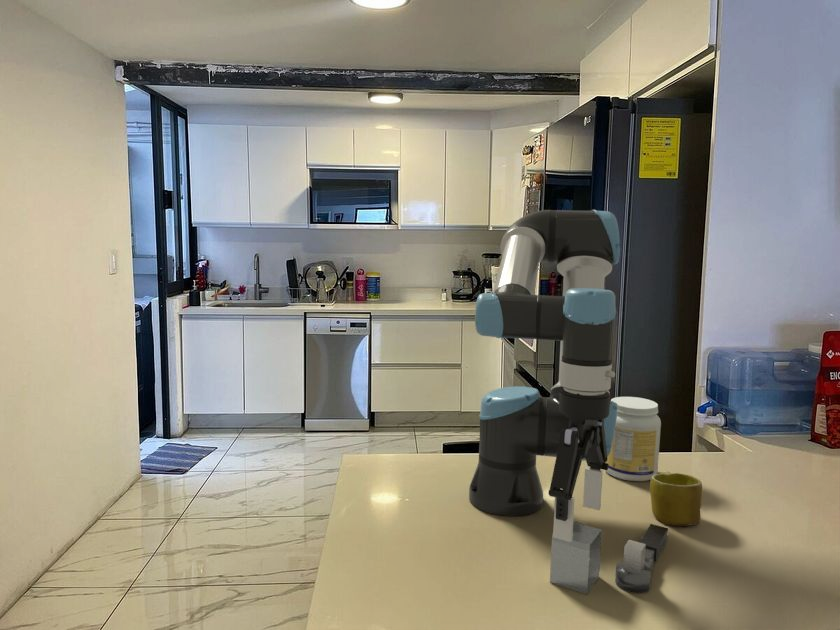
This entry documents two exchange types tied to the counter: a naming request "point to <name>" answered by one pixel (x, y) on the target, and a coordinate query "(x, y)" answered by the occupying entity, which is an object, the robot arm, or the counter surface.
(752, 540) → the counter surface
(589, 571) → the grey block
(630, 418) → the supplement tub
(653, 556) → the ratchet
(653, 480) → the mug
